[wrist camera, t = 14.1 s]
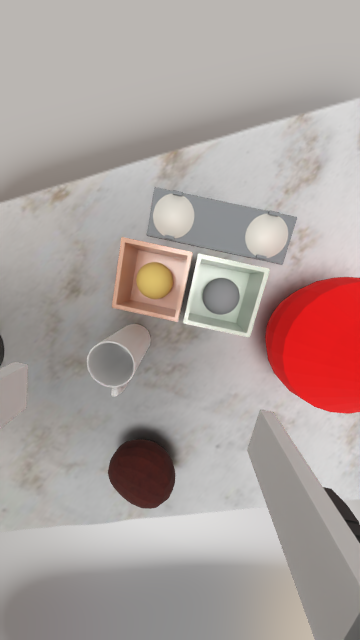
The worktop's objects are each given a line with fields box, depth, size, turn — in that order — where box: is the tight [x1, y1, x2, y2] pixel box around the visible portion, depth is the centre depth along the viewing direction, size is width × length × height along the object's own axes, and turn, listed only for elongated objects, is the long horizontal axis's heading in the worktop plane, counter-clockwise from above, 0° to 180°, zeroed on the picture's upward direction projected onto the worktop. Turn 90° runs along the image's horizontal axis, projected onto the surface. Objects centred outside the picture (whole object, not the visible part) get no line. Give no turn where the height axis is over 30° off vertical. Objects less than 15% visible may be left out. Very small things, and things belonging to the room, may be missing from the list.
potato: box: [108, 439, 175, 508], centre depth 38 cm, size 11×13×10 cm
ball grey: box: [202, 278, 240, 315], centre depth 32 cm, size 6×6×6 cm
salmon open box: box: [112, 237, 193, 322], centre depth 32 cm, size 10×10×8 cm
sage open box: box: [183, 253, 270, 338], centre depth 32 cm, size 10×10×8 cm
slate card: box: [147, 187, 297, 264], centre depth 33 cm, size 24×8×1 cm, turn 78°
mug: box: [87, 324, 151, 397], centre depth 33 cm, size 10×7×12 cm, turn 176°
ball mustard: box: [136, 262, 173, 299], centre depth 32 cm, size 6×6×6 cm
